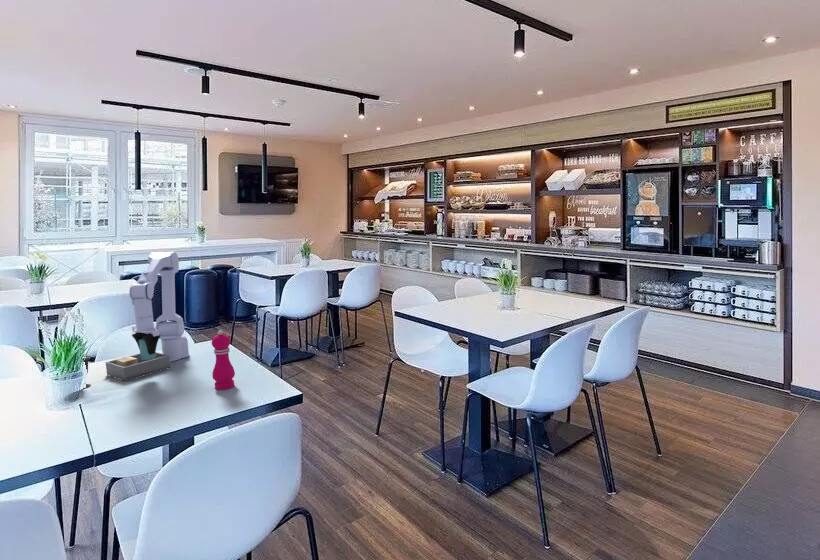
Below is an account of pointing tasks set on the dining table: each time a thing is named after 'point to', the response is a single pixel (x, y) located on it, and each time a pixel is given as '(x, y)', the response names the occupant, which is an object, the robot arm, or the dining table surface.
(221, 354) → the pepper mill
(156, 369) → the tote
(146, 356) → the teal block
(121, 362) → the oak cube
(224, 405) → the dining table surface
